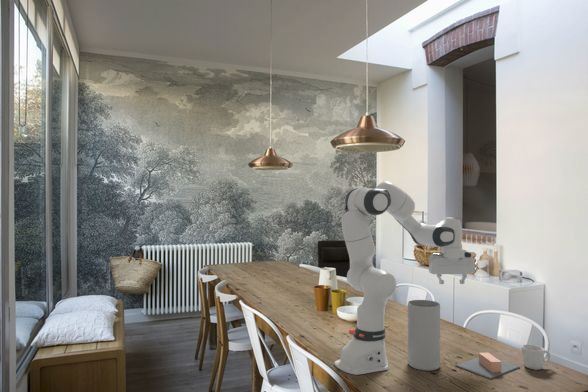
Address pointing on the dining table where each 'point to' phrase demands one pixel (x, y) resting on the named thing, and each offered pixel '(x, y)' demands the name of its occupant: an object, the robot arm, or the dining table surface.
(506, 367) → the charcoal mat
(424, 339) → the cylinder vase
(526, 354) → the cup
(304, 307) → the dining table surface
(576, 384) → the dining table surface
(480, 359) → the terracotta block
